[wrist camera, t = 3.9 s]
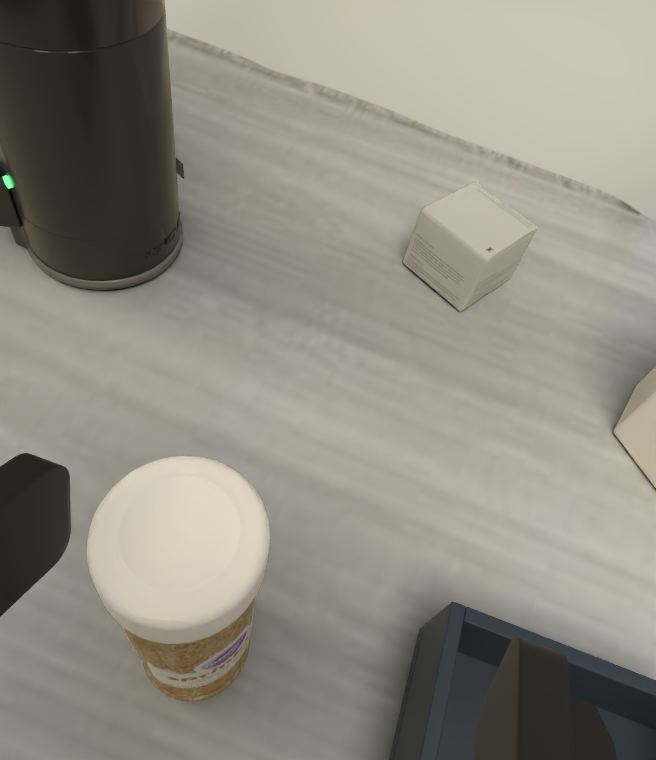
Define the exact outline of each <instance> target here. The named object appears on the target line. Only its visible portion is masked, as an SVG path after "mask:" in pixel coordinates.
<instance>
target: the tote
mask: <svg viewBox="0 0 656 760" xmlns="http://www.w3.org/2000/svg"><path fill="white" fill-rule="evenodd" d="M515 636H518V637H521V638H524V639H526V640H529V641H532V642H534V643H537V644H540V645H542V646H545V647H548V648H551V649H553V650H556V651H559V652H561V653H564V654H565V655H566V657H567V659H568V665H569V679H570V693H571V696H574V697H576V698H579V699H581V700H584V701H587V702H589V703H592V704H594V705H596V707H597V709H598V711H599V713H600V715H601V717H602V719H603V721H604V723H605V725H606V727H607V730H608V732H609V734H610V736H611V738H612V740H613V742H614V744H615V751H616V758H617V760H656V680H653V679H650V678H648V677H645V676H643V675H640V674H638V673H635V672H633V671H630V670H627V669H625V668H622V667H620V666H617V665H615V664H612V663H610V662H607V661H604V660H602V659H599V658H597V657H594V656H592V655H589V654H587V653H584V652H581V651H579V650H576V649H574V648H571V647H569V646H566V645H563V644H561V643H558V642H556V641H553V640H551V639H548V638H546V637H543V636H540V635H538V634H535V633H533V632H530V631H528V630H525V629H523V628H520V627H517V626H515V625H512V624H510V623H507V622H505V621H502V620H499V619H497V618H494V617H492V616H489V615H487V614H484V613H482V612H479V611H476V610H474V609H471V608H469V607H465V606H463V605H461V604H458V603H456V602H451V603H450V604H449V605H448V606H446V607H445V608H444V609H443V610H442V611H440V612H439V613H438V614H437V615H436V616H434V617H433V618H432V619H431V620H430V621H428V622H427V623H426V624H425V625H424V626H423V627H422V628H420V630H419V634H418V638H417V643H416V647H415V651H414V656H413V660H412V664H411V668H410V673H409V677H408V681H407V686H406V690H405V694H404V698H403V703H402V707H401V711H400V716H399V720H398V724H397V729H396V733H395V737H394V741H393V746H392V750H391V754H390V759H389V760H473V754H474V743H475V734H476V728H477V723H478V719H479V714H480V711H481V707H482V704H483V701H484V699H485V696H486V694H487V692H488V690H489V687H490V685H491V683H492V681H493V679H494V677H495V675H496V672H497V670H498V668H499V666H500V664H501V662H502V660H503V657H504V655H505V653H506V651H507V649H508V647H509V644H510V643H511V641H512V639H513V638H514V637H515Z"/></svg>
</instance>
